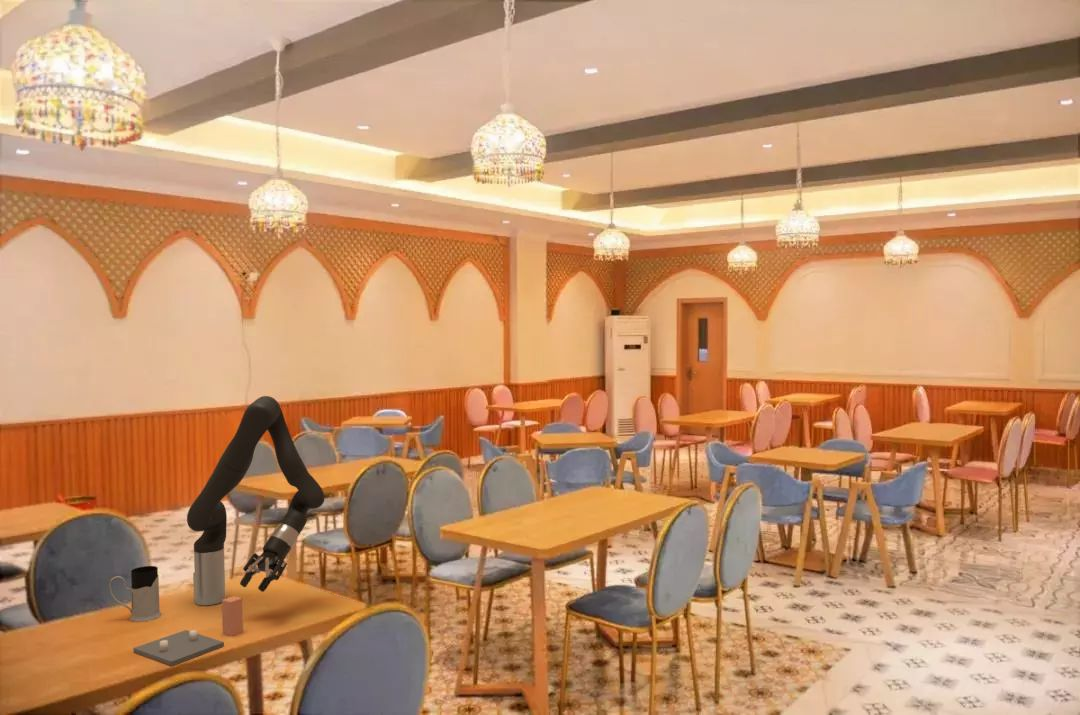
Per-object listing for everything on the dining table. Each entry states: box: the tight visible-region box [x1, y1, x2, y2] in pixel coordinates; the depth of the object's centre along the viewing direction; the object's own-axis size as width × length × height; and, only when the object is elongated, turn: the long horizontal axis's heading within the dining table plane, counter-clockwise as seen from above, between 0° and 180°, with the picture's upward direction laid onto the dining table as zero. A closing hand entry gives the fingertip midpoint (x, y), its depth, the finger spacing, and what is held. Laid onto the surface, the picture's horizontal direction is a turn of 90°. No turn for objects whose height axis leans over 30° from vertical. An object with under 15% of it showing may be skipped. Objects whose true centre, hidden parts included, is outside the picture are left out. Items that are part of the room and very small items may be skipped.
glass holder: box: [109, 565, 162, 623], centre depth 257 cm, size 9×14×15 cm, turn 112°
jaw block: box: [221, 595, 244, 637], centre depth 243 cm, size 4×4×10 cm
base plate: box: [132, 629, 225, 667], centre depth 231 cm, size 18×16×4 cm
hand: (251, 588), depth 248 cm, fingers open, 8 cm apart
